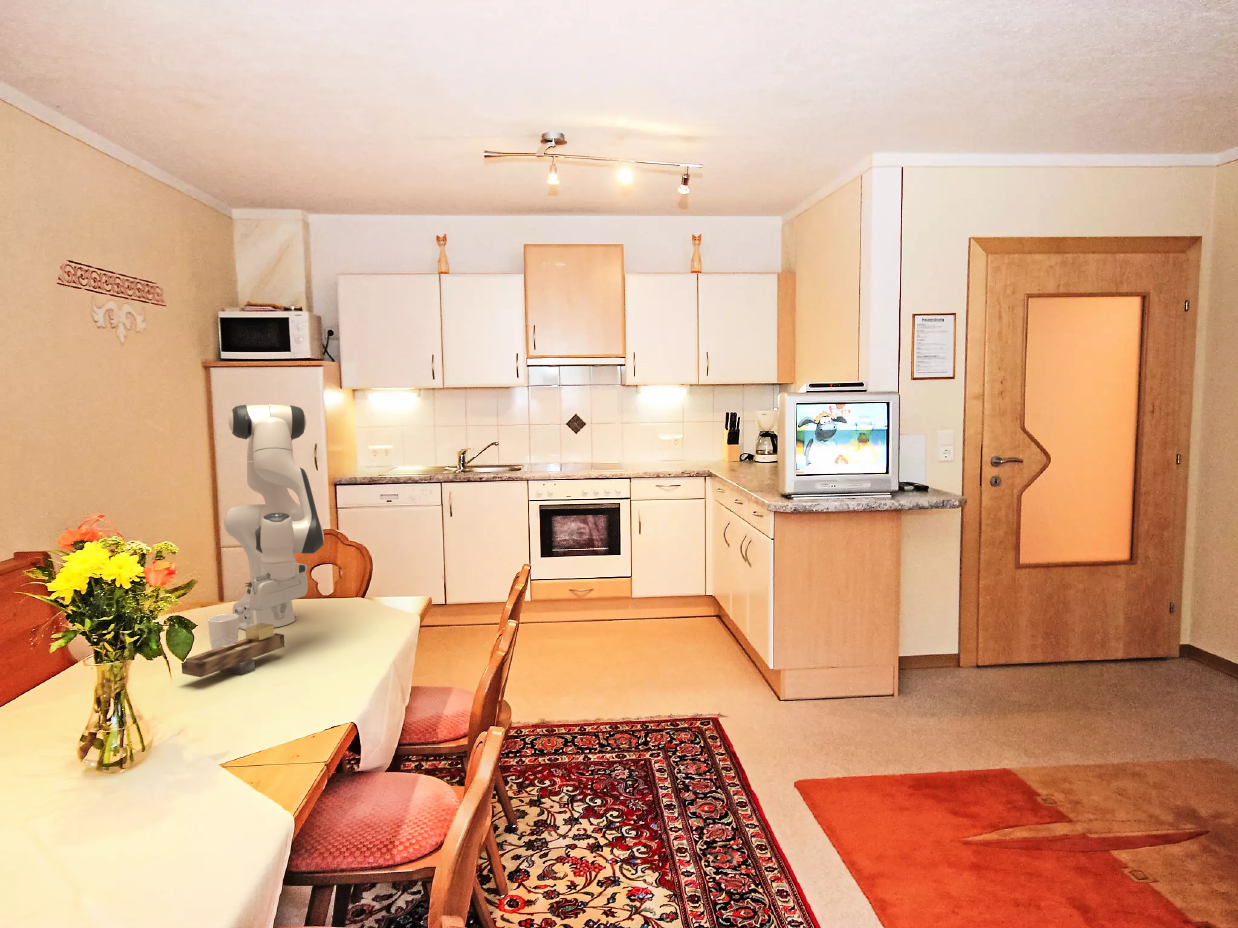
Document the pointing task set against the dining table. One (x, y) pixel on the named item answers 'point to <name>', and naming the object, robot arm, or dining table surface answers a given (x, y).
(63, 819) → the dining table surface
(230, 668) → the beam
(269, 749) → the dining table surface
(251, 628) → the rider
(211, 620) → the white cup
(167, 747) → the dining table surface
